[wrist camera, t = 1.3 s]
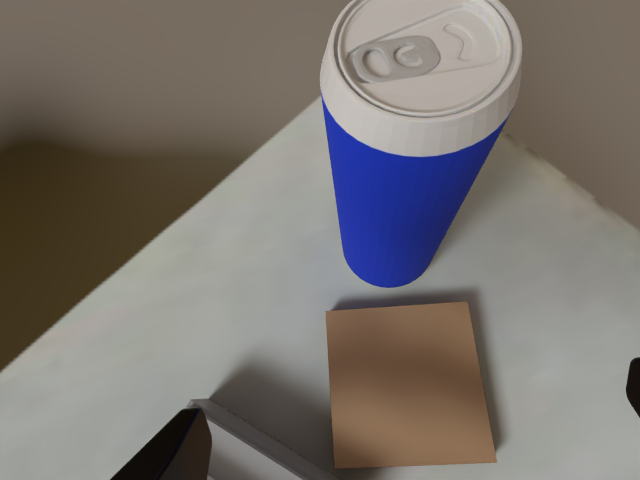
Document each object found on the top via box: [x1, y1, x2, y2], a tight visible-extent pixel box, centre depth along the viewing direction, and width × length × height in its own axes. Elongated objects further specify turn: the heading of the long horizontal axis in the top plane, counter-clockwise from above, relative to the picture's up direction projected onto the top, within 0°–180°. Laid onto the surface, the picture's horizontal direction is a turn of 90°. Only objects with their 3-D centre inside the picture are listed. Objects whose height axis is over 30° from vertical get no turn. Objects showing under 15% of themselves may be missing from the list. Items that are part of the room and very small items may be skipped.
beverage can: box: [320, 0, 522, 288], centre depth 17 cm, size 5×5×15 cm
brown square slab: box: [326, 301, 497, 469], centre depth 21 cm, size 8×8×1 cm
